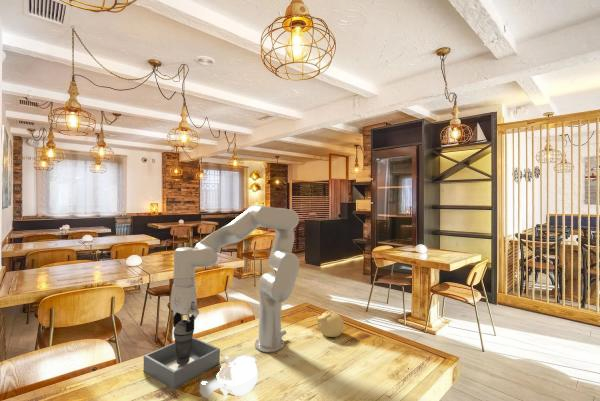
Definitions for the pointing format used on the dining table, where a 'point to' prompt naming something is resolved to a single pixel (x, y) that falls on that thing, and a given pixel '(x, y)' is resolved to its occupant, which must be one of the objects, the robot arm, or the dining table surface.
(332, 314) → the sculpture
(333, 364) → the dining table surface
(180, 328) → the beverage cup
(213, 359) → the walled bin
